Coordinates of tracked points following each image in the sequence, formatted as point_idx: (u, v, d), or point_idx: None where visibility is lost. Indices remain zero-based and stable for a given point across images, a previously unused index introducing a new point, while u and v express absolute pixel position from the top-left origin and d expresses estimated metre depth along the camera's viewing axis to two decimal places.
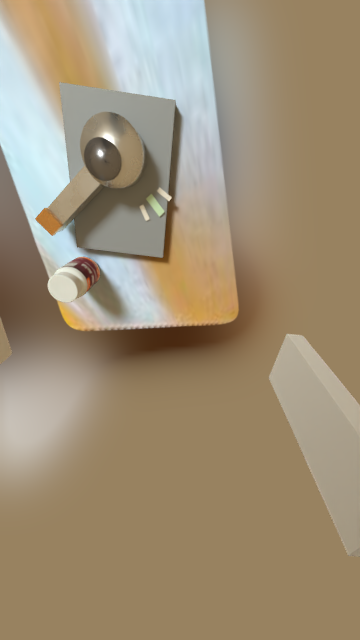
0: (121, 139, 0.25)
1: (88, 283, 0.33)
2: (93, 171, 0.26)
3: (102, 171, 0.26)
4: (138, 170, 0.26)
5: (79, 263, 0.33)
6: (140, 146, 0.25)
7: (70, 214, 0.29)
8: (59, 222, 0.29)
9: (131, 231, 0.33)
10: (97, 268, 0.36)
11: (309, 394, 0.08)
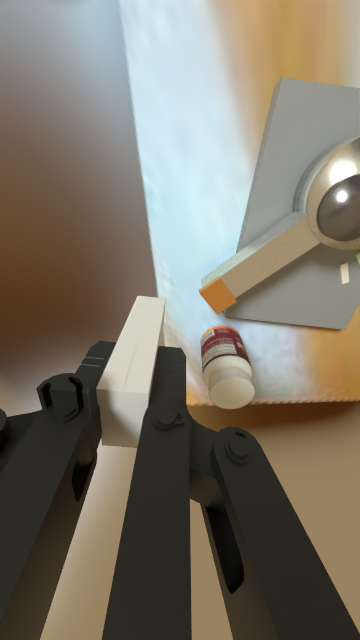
0: None
1: None
2: (330, 228, 0.15)
3: (346, 227, 0.15)
4: None
5: (235, 344, 0.23)
6: None
7: (253, 284, 0.19)
8: (233, 296, 0.19)
9: (312, 297, 0.22)
10: None
11: None
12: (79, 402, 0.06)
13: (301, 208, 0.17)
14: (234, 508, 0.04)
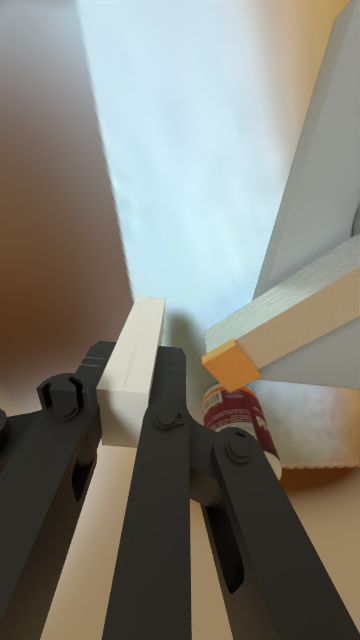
0: None
1: None
2: None
3: None
4: None
5: (254, 422, 0.15)
6: None
7: (288, 350, 0.12)
8: (256, 367, 0.12)
9: None
10: None
11: None
12: (79, 402, 0.06)
13: None
14: (234, 508, 0.04)
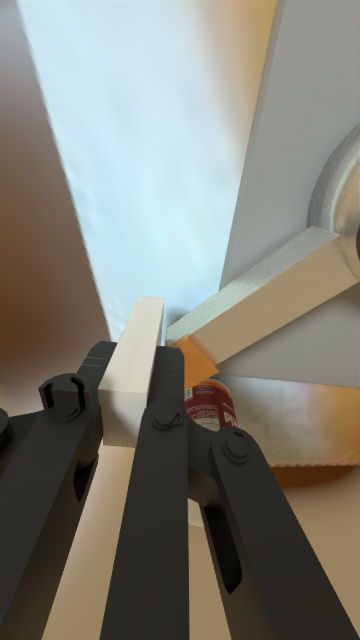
0: None
1: None
2: None
3: None
4: None
5: (221, 418, 0.15)
6: None
7: (245, 345, 0.12)
8: (213, 363, 0.12)
9: (335, 349, 0.15)
10: (231, 399, 0.19)
11: None
12: (81, 402, 0.06)
13: (325, 222, 0.10)
14: (232, 508, 0.04)
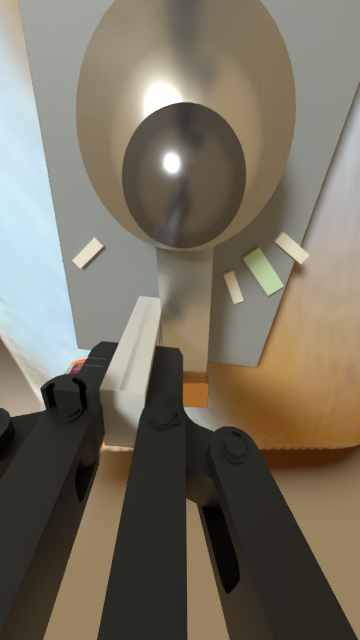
0: (178, 63, 0.06)
1: None
2: (188, 237, 0.08)
3: (206, 212, 0.08)
4: (290, 86, 0.07)
5: None
6: None
7: (205, 352, 0.12)
8: (200, 379, 0.13)
9: None
10: None
11: None
12: (82, 402, 0.06)
13: None
14: (229, 508, 0.04)
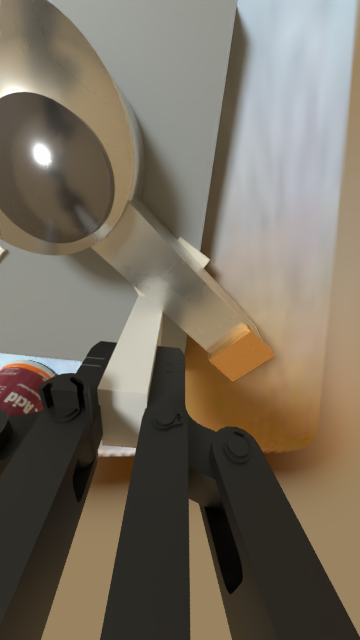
0: None
1: None
2: (90, 215, 0.08)
3: (79, 179, 0.07)
4: (38, 1, 0.06)
5: (0, 398, 0.15)
6: None
7: (221, 303, 0.10)
8: (241, 333, 0.11)
9: (114, 327, 0.15)
10: None
11: None
12: (80, 402, 0.06)
13: None
14: (232, 508, 0.04)
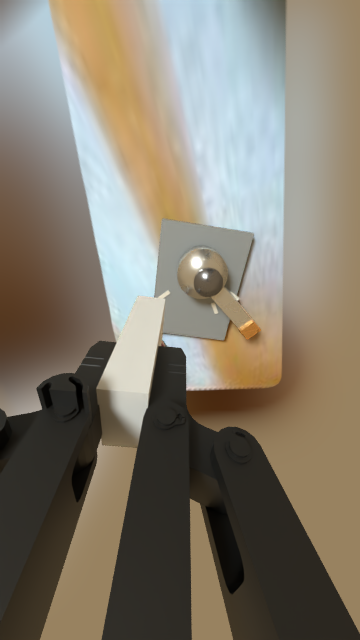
0: (193, 266, 0.31)
1: None
2: (216, 291, 0.31)
3: (216, 284, 0.31)
4: (215, 253, 0.30)
5: None
6: (197, 250, 0.30)
7: (245, 313, 0.34)
8: (251, 322, 0.35)
9: (200, 321, 0.38)
10: None
11: None
12: (79, 402, 0.06)
13: None
14: (234, 508, 0.04)
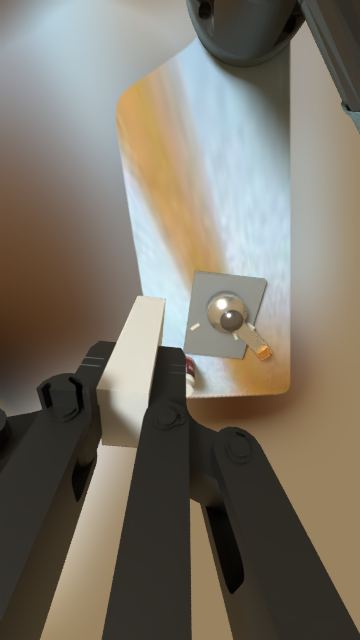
0: (220, 309, 0.40)
1: (194, 381, 0.47)
2: (238, 327, 0.41)
3: (238, 322, 0.40)
4: (237, 299, 0.39)
5: (187, 367, 0.48)
6: (224, 298, 0.39)
7: (260, 341, 0.43)
8: (264, 348, 0.44)
9: (223, 345, 0.48)
10: (193, 363, 0.51)
11: None
12: (79, 402, 0.06)
13: None
14: (234, 508, 0.04)
